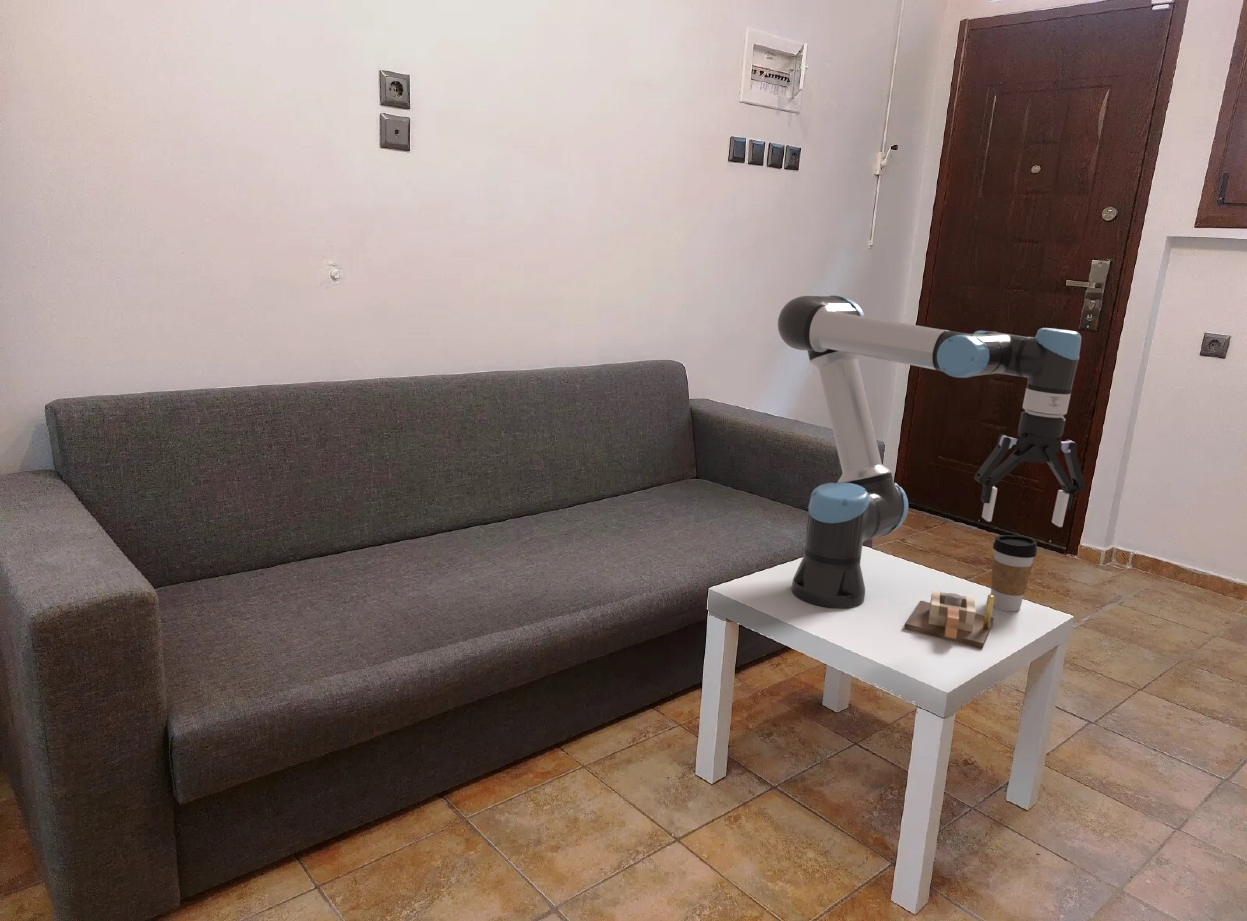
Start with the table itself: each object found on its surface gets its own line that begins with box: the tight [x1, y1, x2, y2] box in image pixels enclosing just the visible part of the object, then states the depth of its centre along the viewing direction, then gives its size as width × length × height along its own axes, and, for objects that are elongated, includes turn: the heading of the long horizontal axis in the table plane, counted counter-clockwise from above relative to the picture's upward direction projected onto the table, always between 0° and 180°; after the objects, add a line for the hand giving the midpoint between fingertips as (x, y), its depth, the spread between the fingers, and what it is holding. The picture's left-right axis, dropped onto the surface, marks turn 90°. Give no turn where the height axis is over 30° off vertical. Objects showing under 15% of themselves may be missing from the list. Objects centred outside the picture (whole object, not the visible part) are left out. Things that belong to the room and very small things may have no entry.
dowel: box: [983, 594, 995, 630], centre depth 167 cm, size 1×1×7 cm
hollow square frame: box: [929, 590, 977, 639], centre depth 168 cm, size 13×8×4 cm, turn 160°
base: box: [903, 592, 995, 650], centre depth 170 cm, size 14×14×6 cm
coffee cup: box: [990, 534, 1038, 612], centre depth 181 cm, size 8×8×15 cm
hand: (1021, 522), depth 165 cm, fingers open, 13 cm apart
